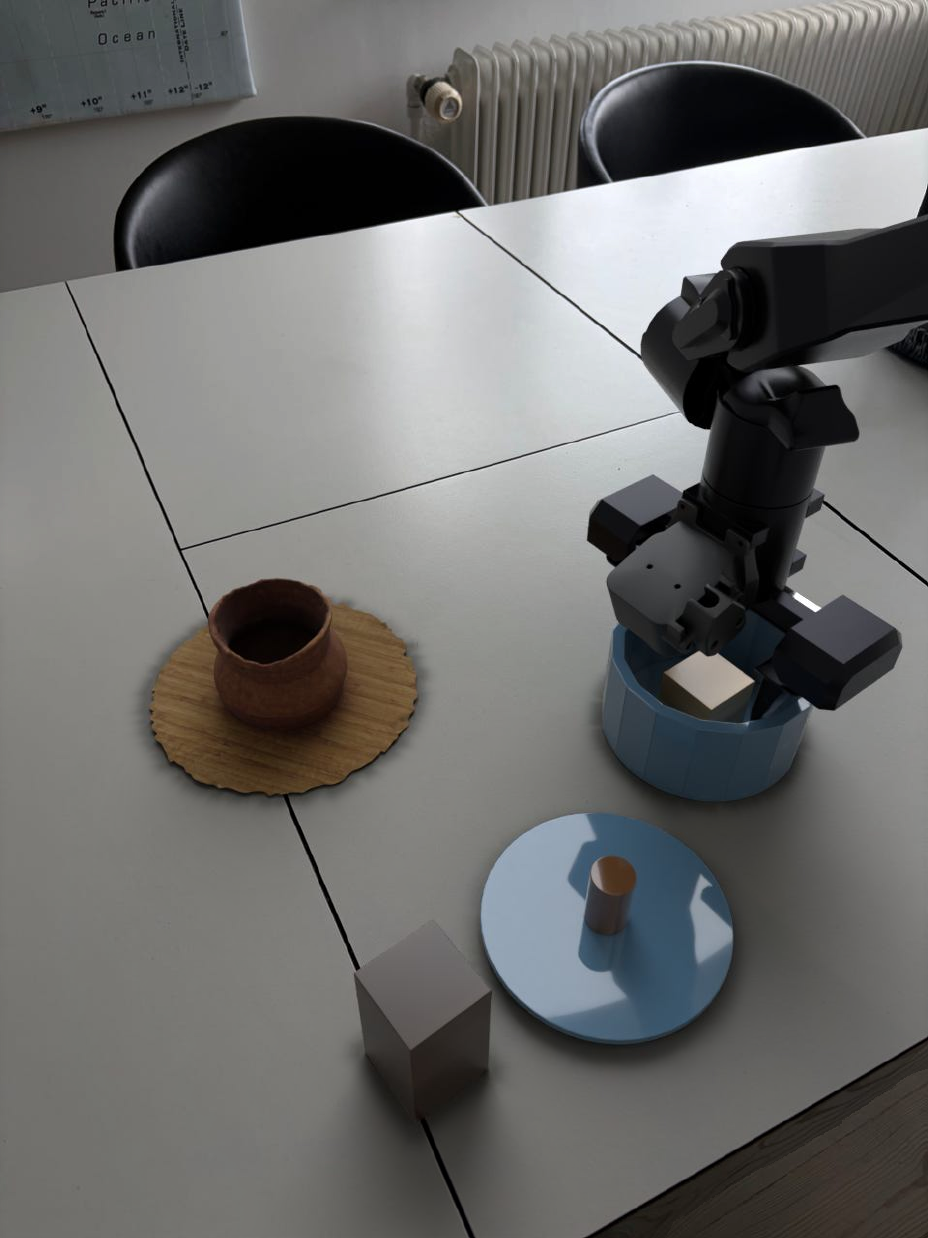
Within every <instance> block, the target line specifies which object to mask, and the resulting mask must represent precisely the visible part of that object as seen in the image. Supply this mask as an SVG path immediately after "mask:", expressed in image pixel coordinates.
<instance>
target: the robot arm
mask: <svg viewBox="0 0 928 1238" xmlns="http://www.w3.org/2000/svg"><path fill="white" fill-rule="evenodd" d="M720 266H721V268H722V269H721V270H718V272H711V273H701V274H694V275H692V274H691V275H685V276H684V277H683V278H682V282H681V289H680V295H678V296H676V297H675V298H673V299H672V300H670V301H668V302H667V303H666V304H664V306H662V307H661V309H659V310H658V311H657V312H656V314H655V315H654V317H653V318H652V319H651V321H650V322H649V323H648V325H647V328H646V330H645V331H644V332H643V333H642V335H641V340H640V357H641V361H642V363H643V366H644V367H645V369H646V370H647V372H648V373H649V374H650V375H651V377H652V378H653V379H654V380H655V382H656V383H657V384H658V386H660V388H661V389H662V391H663V392H664V393H665V394H666V395H667V397H668V398H669V399H670V401H671V402H672V403H673V405H674V406H675V407H676V409H678V411H679V412H680V414H682V417H684V418H685V420H686V421H687V422H688V423H689V424H691V425H692V426H694V427H696V428H699V429H702V430H706V431H709V435H708V440H707V443H706V444H707V445H706V450H705V455H704V459H703V465H702V470H701V475H700V479H699V482H697V483H695V484H693V485H691V486H689V487H688V488H685V489H684V490H682V491H681V490H679V489H677V488H676V487H674V486H673V485H672V484H670V483H668V482H666V481H665V480H663V479H662V478H659V476H657V475H655V474H653V473H652V474H650V475H647V476H646V477H643V478H642V479H639V480H638V481H636V482H633V483H631V484H629V485H627V486H625V487H623V488H621V489H619V490H617V491H615V492H613V493H611V494H609V495H606V496H604V497H603V498H600V499H598V500H597V501H596V502H595V503H594V505H593V506H592V508H591V509H590V510H589V515H588V521H587V522H588V523H587V531H586V542H588V543H589V544H591V545H592V546H593V547H595V548H596V549H597V550H599V551H600V552H601V553H603V554H605V558H606V561H607V562H608V563H609V564H610V565H611V566H612V567H613V569H612V570H611V571H609V573H608V575H607V576H606V581H605V583H606V587H607V592H608V594H609V599H610V602H611V605H612V609H613V613H614V616H615V619H616V621H617V623H618V622H619V623H620V624H621V625H623V626H624V627H626V628H628V629H630V630H631V631H632V632H634V633H635V634H636V635H637V636H639V637H640V638H641V639H643V640H644V641H645V642H646V643H648V644H649V645H650V647H651V648H652V649H653V650H655V651H656V652H657V653H659V654H661V655H664V656H675V655H678V654H680V653H682V654H684V655H686V654H688V653H689V652H690V651H692V650H698V651H700V652H701V653H703V654H704V655H705V656H707V657H709V656H714V655H716V654H717V653H718V652H719V651H720V650H721V649H723V648H724V647H725V646H726V645H727V644H728V643H729V642H730V641H731V640H732V639H733V638H735V637H736V636H737V635H738V634H739V633H740V632H741V631H742V629H743V628H744V626H745V624H746V614H745V612H747V611H749V610H751V611H752V612H754V613H755V614H757V615H758V616H760V617H761V618H762V619H764V620H765V621H767V622H768V623H770V624H771V625H773V626H774V627H776V628H777V629H778V630H780V631H781V632H783V633H784V634H785V636H784V637H783V638H782V640H781V641H780V642H779V644H778V645H777V646H776V647H775V650H774V654H773V656H772V657H770V658H769V659H767V660H766V661H764V662H763V663H761V664H759V665H758V666H756V667H755V670H756V671H757V672H758V673H760V674H761V675H762V676H763V678H762V681H761V684H760V687H759V690H758V693H757V695H756V698H755V701H754V704H753V707H752V711H751V719H750V721H754V720H759V719H764V718H768V717H769V716H770V715H771V714H772V713H773V712H774V711H775V710H776V709H777V708H778V707H779V706H780V705H781V704H782V703H783V702H784V701H785V700H786V699H787V698H788V697H789V696H792V697H794V698H804V699H805V700H806V701H808V702H809V703H811V704H812V705H813V706H814V707H815V708H816V709H817V710H821V711H832V712H834V711H837V709H840V707H842V706H843V705H845V704H846V703H848V702H849V701H850V700H852V699H854V698H855V697H856V696H858V694H860V693H861V692H862V691H864V690H865V689H867V688H869V687H870V686H871V685H873V684H874V683H875V682H877V681H878V680H880V679H881V678H882V677H884V676H885V675H887V674H888V673H889V672H891V671H892V670H893V669H895V666H896V664H897V662H898V659H899V657H900V654H901V652H902V650H903V639H902V633H901V632H900V631H899V629H897V627H895V626H893V625H891V624H890V623H889V622H887V621H885V620H883V618H880V617H879V616H877V615H876V614H874V613H873V612H871V611H870V610H868V609H866V608H865V607H863V606H862V605H860V604H859V603H857V602H855V601H854V600H853V599H851V598H849V597H847V595H844V594H841V595H840V596H838V597H836V598H835V599H833V600H832V601H831V602H828V603H827V604H826V605H824V606H823V607H820V606H818V605H817V604H815V603H814V602H812V601H811V600H810V599H808V598H807V597H805V596H803V595H801V594H800V593H799V592H797V591H795V590H794V589H793V588H791V587H789V586H788V585H787V582H788V579H789V578H790V577H792V576H794V575H796V574H797V573H798V572H799V573H800V571H802V570H804V566H805V563H806V560H807V556H808V554H806V553H804V552H803V551H801V550H799V549H798V545H799V540H800V536H801V533H802V530H803V527H804V523H805V520H806V519H807V518H809V517H811V516H812V515H814V514H817V513H818V512H820V511H821V510H822V507H823V503H824V500H825V498H826V497H825V496H826V494H824V493H823V492H822V491H819V490H818V489H816V488H815V485H816V481H817V478H818V474H819V472H820V468H821V463H822V461H823V457H824V453H825V450H826V447H831V446H838V445H843V444H844V445H845V444H852V443H856V442H857V441H858V440H859V438H860V429H859V426H858V422H857V417H856V416H855V414H854V413H853V412H852V411H851V410H850V408H849V407H848V406H847V404H846V403H845V401H844V398H843V393H842V389H841V387H840V385H839V384H827V385H826V384H825V382H824V381H822V380H821V378H820V377H818V376H817V375H816V374H815V373H814V372H813V371H812V370H810V369H808V368H806V367H804V366H807V365H813V364H821V363H829V362H836V361H844V360H851V359H858V358H863V357H865V356H868V355H870V354H873V353H875V352H877V351H880V350H882V349H885V348H888V347H890V346H893V345H894V344H897V343H899V342H901V341H903V340H904V339H905V338H906V337H907V336H908V334H909V332H910V331H911V330H913V329H916V328H918V327H919V326H923V325H925V324H927V323H928V214H925V215H921V216H918V217H913V218H911V219H909V220H905V221H901V222H898V223H896V224H892V225H888V226H885V227H881V228H877V227H876V228H873V227H872V228H871V227H870V228H869V227H868V228H852V229H843V230H834V231H833V230H832V231H825V232H824V231H823V232H815V233H806V234H796V235H788V236H779V237H778V236H777V237H770V238H759V239H750V240H742V241H737V242H735V243H734V244H733V245H731V246H730V247H729V248H728V249H727V251H726V252H725V254H724V255H723V256H722V258H721V259H720Z"/></svg>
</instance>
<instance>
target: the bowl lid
mask: <svg viewBox="0 0 928 1238" xmlns="http://www.w3.org/2000/svg"><path fill="white" fill-rule="evenodd" d="M488 873H489V874H488V876H487V878H486V881H485V884H484V887H483V890H482V895H481V900H480V913H479V924H480V936H481V939H482V944H483V948H484V953H485V954H486V957H487V960H488V962H489V965H490V967H491V969H492V970H493V973H494V974H495V976H496V978H497V979H498V982H500V983H501V985H502V986H503V988H504V989H505V990H506V992H507V993H508V994H509V996H511V997H512V998H513V1000H515V1002H516V1003H517V1004H518V1005H519V1006H520V1007H522V1009H524V1010H525V1011H526V1012H528V1014H530V1015H531V1016H533V1017H534V1018H536V1019H537V1020H538V1021H540V1022H542V1023H543V1024H545V1025H546V1026H548V1027H550V1028H552V1029H554V1030H556V1031H558V1032H561V1033H563V1034H565V1035H568V1036H571V1037H574V1038H577V1039H579V1040H584V1041H589V1042H592V1043H593V1042H594V1043H599V1044H609V1045H631V1044H632V1045H633V1044H640V1043H645V1042H649V1041H654V1040H657V1039H660V1038H663V1037H666V1036H669V1035H671V1034H673V1033H675V1032H677V1031H679V1030H681V1029H683V1028H685V1027H686V1026H688V1025H689V1024H690V1023H692V1022H693V1021H695V1020H696V1019H697V1018H698V1017H700V1016H701V1014H702V1013H703V1012H704V1011H706V1010H707V1008H708V1007H709V1006H710V1005H711V1004H712V1002H713V1001H714V1000H715V998H716V997H717V996H718V994H719V992H720V990H721V988H722V987H723V984H724V983H725V980H726V978H727V975H728V972H729V969H730V967H731V963H732V957H733V952H734V925H733V920H732V914H731V911H730V907H729V903H728V902H727V899H726V897H725V895H724V892H723V890H722V887H721V885H720V884H719V882H718V881H717V879H716V877H715V876H714V874H713V873H712V872H711V870H710V869H709V867H708V866H707V865H706V863H705V862H704V861H703V860H702V859H701V858H700V857H699V856H698V855H697V854H696V853H695V852H694V851H693V850H692V849H691V848H690V847H689V846H687V845H686V844H684V842H682V841H680V840H679V839H678V838H676V837H675V836H673V835H672V834H670V833H668V832H666V831H665V830H664V829H661V828H659V827H657V826H655V825H654V824H653V825H652V824H650V823H647V822H645V821H643V820H640V819H636V818H633V817H629V816H626V815H620V814H614V813H606V812H605V813H604V812H583V813H575V814H568V815H563V816H560V817H556V818H552V819H549V820H547V821H544V822H543V823H540V824H538V825H535V826H534V827H533V828H531V829H529V830H527V831H525V832H524V833H523V834H521V835H520V836H518V837H517V838H516V839H514V841H512V842H511V843H510V845H508V846H507V847H506V848H505V849H504V851H502V853H501V855H500V856H499V857H498V858H497V860H496V861H495V862H494V864H493V866H492V868H491V870H490V872H488Z"/></svg>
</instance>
